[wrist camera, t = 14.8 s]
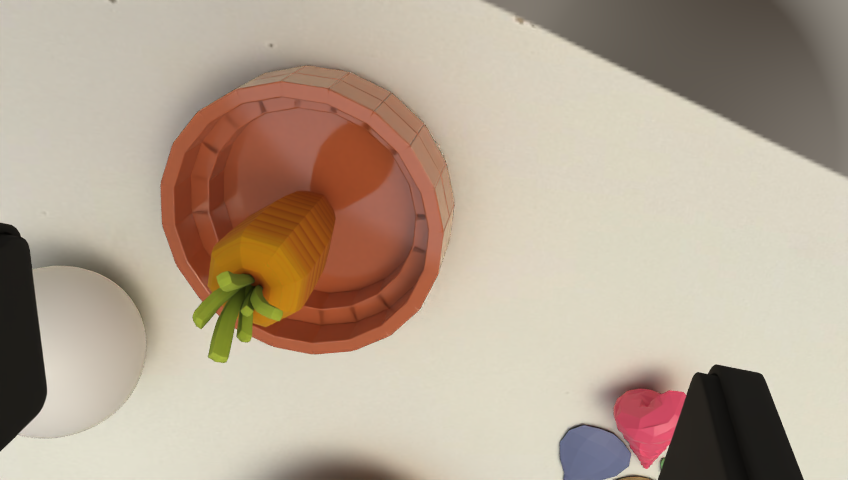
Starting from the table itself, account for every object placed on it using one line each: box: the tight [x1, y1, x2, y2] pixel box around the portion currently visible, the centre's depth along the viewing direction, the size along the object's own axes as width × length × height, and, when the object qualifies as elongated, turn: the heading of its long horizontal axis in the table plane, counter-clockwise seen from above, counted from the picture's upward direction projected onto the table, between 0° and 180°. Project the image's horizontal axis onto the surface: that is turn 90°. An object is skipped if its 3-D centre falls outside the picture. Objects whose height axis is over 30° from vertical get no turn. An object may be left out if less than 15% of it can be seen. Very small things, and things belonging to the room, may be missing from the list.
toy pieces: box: [560, 388, 686, 480], centre depth 46 cm, size 12×11×4 cm
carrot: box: [193, 191, 336, 363], centre depth 37 cm, size 5×5×15 cm
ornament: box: [18, 266, 146, 438], centre depth 46 cm, size 10×10×12 cm
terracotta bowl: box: [161, 65, 454, 354], centre depth 43 cm, size 16×16×5 cm
